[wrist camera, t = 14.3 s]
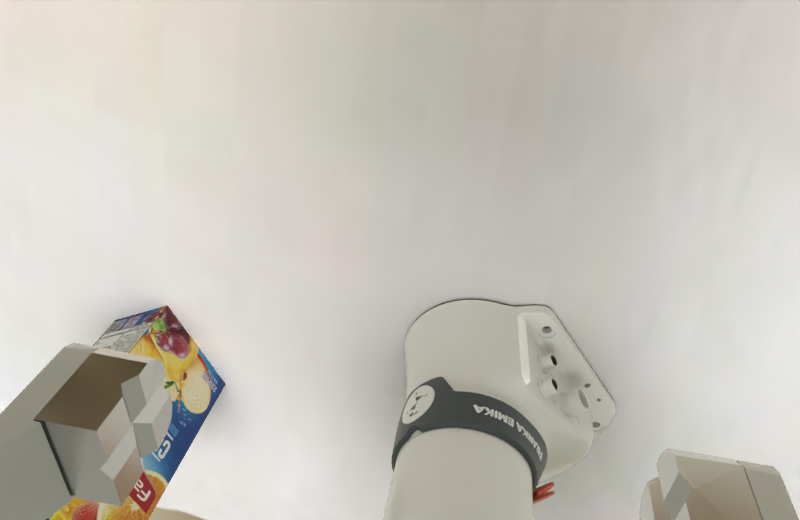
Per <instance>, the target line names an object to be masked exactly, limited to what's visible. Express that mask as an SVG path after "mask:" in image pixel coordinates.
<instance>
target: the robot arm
mask: <svg viewBox="0 0 800 520" xmlns="http://www.w3.org/2000/svg"><path fill="white" fill-rule="evenodd" d="M546 326H548V327H550V328H548V329H546V328H543V327H546ZM404 353H405V360H406V378H407V384H406V403H405V406H404V408H403V411H402V414H401V417H400V421H399V424H398V429H397V433H396V438H395V443H394V449H393V454H392V468H393V472H394V473H393V477H392V482H391V487H390V491H389V496H388V500H387V505H386V510H385V515H384V519H383V520H534V519H533V504H534V503H536V502H538V501H541V500H543V499H545V498H547V497H549V496H551V495H553V494H554V491H551V492H548V493H546V492H547V491H548V490H549V489H551V488H552V487H553V486H554V483H553V482H551V483H548V484H546V485H543V486H541V487H539V488H537V489H535V488H536V486H537V484H538V482H540V481H543V480H546V479H549V478H551V477H554V476H556V475H558V474H560V473H562V472H564V471H566V470H568V469H569V468H571V467H572V466H574V465H576V464H577V463H578V462H579V461H581V460H582V459H583V458H584V457H585V456H586V454H587V453H588V451H589V450H590V447H591V445H592V441H593V437H595V436H596V435H598V434H599V433H600V432H601V431H603V430H604V429H605V428H606V427H607V426H608V425H609V423H610V422H611V421H612V419H613V418H614V416H615V414H616V405H615V403H614V401H613V399H612V398H611V396H610V395H609V393H608V392H607V390H606V389H605V387H604V386H603V384H602V383H601V382H600V380H599V379H598V377H597V376H596V374H595V373H594V371H593V370H592V368H591V367H590V365H589V364H588V362H587V361H586V359H585V358H584V356H583V355H582V353H581V352H580V351H579V349H578V348H577V346H576V345H575V343H574V342H573V340H572V339H571V337H570V336H569V334H568V333H567V331H566V330H565V328H564V327H563V325H562V324H561V322H560V321H559V319H558V318H557V317H556V315H555V314H554V312H553V311H552V310H551V309H550V308H548V307H545V306H539V305H533V306H519V307H513V306H507V305H503V304H499V303H495V302H490V301H483V300H460V301H453V302H449V303H445V304H442V305H439V306H437V307H435V308H433V309H431V310H429V311H427V312H426V313H424V314H423V315H422V316H421V317H419V318H418V319H417V320H416V321H415V323H414V324H413V325H412V327H411V328H410V330H409V332H408V334H407V336H406V340H405V346H404ZM165 377H166V373H165V369H164V366H163V362H162V361H160V360H157V359H154V358H149V357H144V356H139V355H134V354H129V353H125V352H120V351H115V350H110V349H105V348H98V347H93V346H88V345H83V344H78V343H73V344H70V345H68V346H66V347H64V348H63V349H62V350H61V351H60V352H59V353H58V354H57V355H56V356H55V357H54V358H53V359H52V360H51V361H50V362H49V364H48V365H47V366H46V367H45V368H44V369H43V370H42V371H41V372H40V373H39V374H38V375H37V376H36V377H35V378H34V379H33V380H32V381H31V382H30V384H29V385H28V386H27V387H26V388H25V389H24V390H23V391H22V392H21V393H20V394H19V395H18V396H17V397H16V398H15V399H14V400H13V401H12V402H11V404H10V405H9V406H8V407H7V408H6V409H5V410H4V411H3V412H2V413H1V414H0V520H46V519H47V518H48V517H50V516H51V515H53V514H54V513H55V512H57V511H58V510H60V509H61V508H62V507H64V506H65V505H66V504H68V503H69V502H71V501H72V498H78V499H84V500H89V501H95V502H101V503H106V504H112V505H118V506H122V505H123V503H124V502H125V500H126V499H127V497H128V496H129V494H130V492H131V491H132V489H133V488H134V486H135V484H136V483H137V481H138V480H139V478H140V477H141V475H142V473H143V472H144V469H143V462H142V458H143V457H145V456H147V455H148V454H150V453H152V452H153V451H155V450H157V449H158V448H159V446H160V444H161V443H162V441H163V439H164V438H165V436H166V434H167V431H168V428H169V425H170V422H171V418H172V400H171V395H170V393H169V392H168V391H167V390H166V389H165V388H164V387H163V386H162V385H161V382H162V381H163V380H164V378H165ZM657 468H658V473H659V477H657V478H655V479H653V480H651V481H649V482H648V483H647V485H646V488H645V490H644V493H643V495H642V500H641V507H640V520H799V519H798V516H797V514H796V511H795V509H794V507H793V504H792V502H791V499H790V497H789V494H788V492H787V490H786V487H785V485H784V482H783V480H782V478H781V475H780V473H779V472H778V471H777V470H776V469H775V468H774V467H772V466H766V465H760V464H754V463H748V462H743V461H735V460H733V459H727V458H721V457H715V456H709V455H703V454H697V453H691V452H685V451H679V450H673V449H667V450H665V451H664V452H663V453H662V454H661V456H660V458H659V460H658V462H657ZM71 497H72V498H71Z"/></svg>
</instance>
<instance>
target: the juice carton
mask: <svg viewBox="0 0 800 520" xmlns="http://www.w3.org/2000/svg"><path fill="white" fill-rule="evenodd" d="M93 347H98V348H105V349H110V350H115V351H120V352H125V353H129V354H134V355H139V356H144V357H149V358H154V359H157V360H160V361H162V362H163V366H164V369H165V373H166V377H165V378H164V380H163V381H162V382H161V385H162V386H163V387H164V388H165V389H166V390H167V391H168V392H169V393H170V395H171V400H172V418H171V422H170V425H169V428H168V431H167V434H166V436H165V438H164V439H163V441H162V443H161V444H160V446H159V448H158V449H157V450H155V451H153V452H152V453H150V454H148V455H147V456H145V457H143V458H142V462H143V469H144V472H143V473H142V475H141V477H140V478H139V480H138V481H137V483H136V484H135V486H134V488H133V489H132V491H131V492H130V494H129V496H128V497H127V499H126V500H125V502H124V503H123V505H122V506H118V505H112V504H106V503H101V502H95V501H89V500H84V499H78V498H72V497H71V498H72V501H71V502H69V503H68V504H66V505H65V506H64V507H62V508H61V509H60V510H58V511H57V512H55V513H54V514H53V515H51V516H50V517H48V518H47V519H46V520H148V519H149V517H150V515H151V513H152V512H153V510H154V508H155V506H156V505H157V503H158V501H159V499H160V498H161V496H162V494H163V492H164V491H165V489H166V487H167V485H168V484H169V482H170V480H171V478H172V477H173V475H174V473H175V471H176V470H177V468H178V466H179V464H180V463H181V461H182V459H183V457H184V456H185V454H186V452H187V450H188V449H189V447H190V445H191V443H192V442H193V440H194V438H195V436H196V435H197V433H198V431H199V429H200V428H201V426H202V424H203V422H204V421H205V419H206V417H207V415H208V414H209V412H210V410H211V408H212V407H213V405H214V403H215V401H216V400H217V398H218V396H219V394H220V393H221V391H222V389H223V387H224V386H225V383H224V382H223V380H222V379H221V378H220V376H219V375H218V373H217V372H216V371H215V369H214V368H213V367H212V365H211V364H210V363H209V361H208V360H207V359H206V357H205V356H204V355H203V353H202V352H201V351H200V349H199V348H198V346H197V345H196V344H195V342H194V341H193V340H192V338H191V337H190V336H189V334H188V333H187V332H186V330H185V329H184V328H183V326H182V325H181V323H180V322H179V321H178V319H177V318H176V317H175V315H174V314H173V313H172V311H171V310H170V309H169V307H168V306H165V307H161V308H158V309H154V310H151V311H147V312H144V313H140V314H137V315H133V316H129V317H126V318H122V319H119V320H115V322H114V323H113V324H112V325H111V326H110V327H109V328H108V329H107V331H106V332H105V333H104V334H103V335H102V336H101V337H100V338H99V340H98V341H97V342H96V343H95V344H94V345H93Z"/></svg>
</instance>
